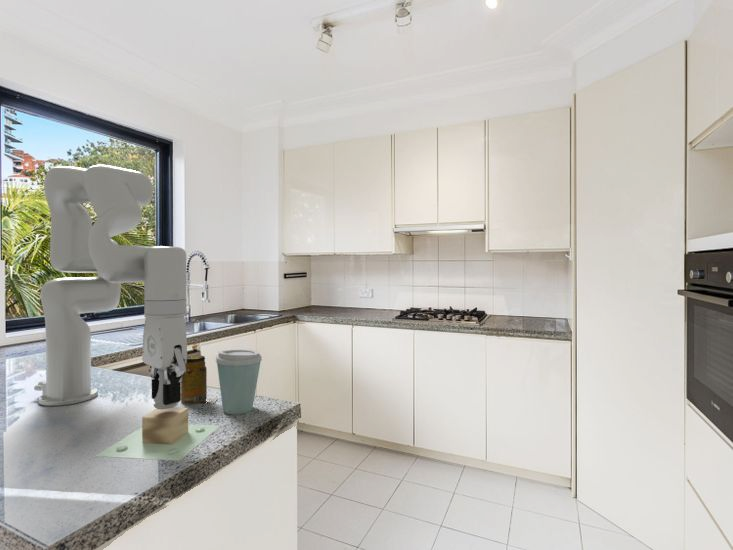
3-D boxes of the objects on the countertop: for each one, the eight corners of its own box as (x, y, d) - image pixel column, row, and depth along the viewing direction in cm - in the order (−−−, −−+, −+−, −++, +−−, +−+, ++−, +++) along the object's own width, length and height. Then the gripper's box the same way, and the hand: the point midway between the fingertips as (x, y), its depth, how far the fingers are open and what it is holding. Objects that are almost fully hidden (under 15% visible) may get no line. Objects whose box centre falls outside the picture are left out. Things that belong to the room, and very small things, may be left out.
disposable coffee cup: (235, 403, 105) (235, 344, 105) (270, 408, 101) (271, 348, 101) (204, 417, 95) (205, 352, 95) (242, 424, 91) (243, 356, 91)
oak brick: (142, 443, 79) (142, 417, 79) (160, 430, 85) (160, 406, 85) (171, 444, 78) (171, 418, 78) (188, 431, 84) (188, 407, 84)
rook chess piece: (154, 403, 83) (154, 364, 83) (179, 401, 84) (179, 362, 84) (151, 411, 79) (151, 369, 78) (177, 408, 80) (177, 367, 80)
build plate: (94, 460, 73) (94, 454, 73) (149, 425, 89) (149, 420, 89) (179, 465, 72) (179, 458, 72) (220, 429, 88) (220, 424, 88)
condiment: (184, 399, 107) (184, 354, 107) (218, 399, 108) (218, 353, 108) (174, 409, 100) (174, 360, 100) (210, 408, 101) (210, 360, 101)
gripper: (128, 307, 84) (129, 395, 84) (165, 313, 73) (165, 415, 73) (166, 304, 89) (166, 387, 90) (205, 310, 79) (205, 404, 79)
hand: (166, 399), depth 81 cm, fingers closed on rook chess piece, 4 cm apart
